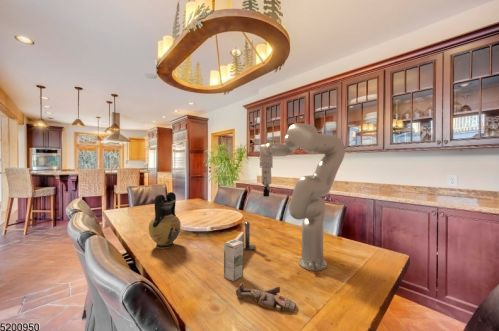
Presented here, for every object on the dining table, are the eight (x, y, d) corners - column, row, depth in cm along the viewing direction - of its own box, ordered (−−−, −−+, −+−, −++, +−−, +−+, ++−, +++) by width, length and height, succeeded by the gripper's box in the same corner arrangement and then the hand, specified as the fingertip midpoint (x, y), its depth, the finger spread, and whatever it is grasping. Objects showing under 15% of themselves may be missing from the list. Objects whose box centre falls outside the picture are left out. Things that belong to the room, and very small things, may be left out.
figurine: (243, 276, 83) (297, 290, 76) (243, 289, 84) (297, 304, 76) (234, 287, 77) (292, 303, 69) (234, 301, 77) (292, 318, 70)
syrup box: (233, 272, 97) (233, 238, 97) (243, 276, 94) (243, 241, 93) (223, 277, 93) (223, 242, 93) (234, 282, 89) (233, 245, 89)
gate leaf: (244, 246, 125) (244, 232, 125) (234, 261, 107) (233, 244, 107) (241, 246, 125) (241, 231, 125) (230, 260, 107) (229, 243, 107)
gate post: (253, 250, 121) (253, 223, 120) (244, 250, 122) (243, 223, 121) (255, 247, 125) (255, 221, 125) (245, 246, 126) (245, 220, 126)
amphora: (170, 253, 118) (169, 195, 117) (141, 250, 121) (141, 195, 121) (186, 241, 135) (185, 191, 135) (160, 239, 139) (160, 190, 138)
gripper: (271, 165, 125) (271, 198, 125) (273, 165, 140) (273, 194, 140) (258, 165, 126) (258, 198, 127) (261, 165, 141) (261, 194, 141)
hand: (266, 196), depth 133 cm, fingers closed
